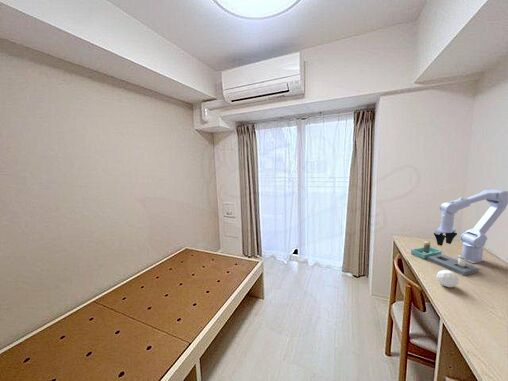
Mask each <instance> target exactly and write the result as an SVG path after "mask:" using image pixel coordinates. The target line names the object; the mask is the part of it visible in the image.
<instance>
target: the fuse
mask: <svg viewBox="0 0 508 381" xmlns="http://www.w3.org/2000/svg"><path fill="white" fill-rule="evenodd" d="M457 260H458V264H457V266H458V267H460V268H463V269H464V268H465V263H466V262H467V261H466V256H465V255H462V254H458V256H457Z"/></svg>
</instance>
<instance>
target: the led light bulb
mask: <svg viewBox="0 0 508 381" xmlns="http://www.w3.org/2000/svg"><path fill="white" fill-rule="evenodd" d="M423 247H424V249H423V254H428V253H429V251H430V247H431V241H427V240H424V241H423Z"/></svg>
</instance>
